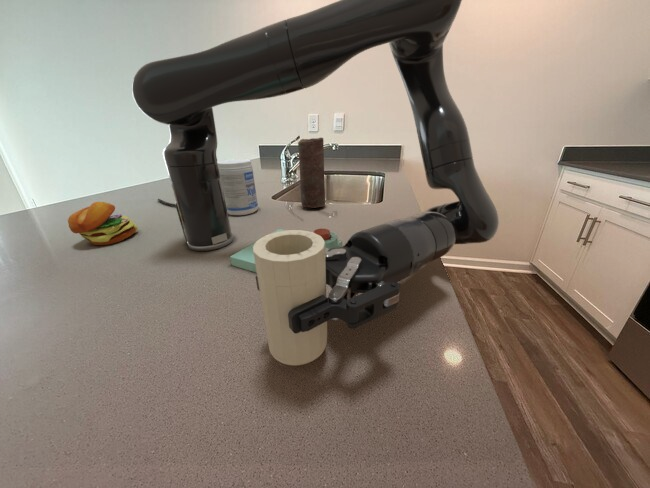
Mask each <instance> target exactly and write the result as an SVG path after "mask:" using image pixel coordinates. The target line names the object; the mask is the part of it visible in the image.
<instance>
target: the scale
mask: <svg viewBox="0 0 650 488" xmlns="http://www.w3.org/2000/svg"><path fill="white" fill-rule="evenodd" d="M287 230H288V229H281V228H278V229H277V230H275V231H273V232H271V233H270V234H272V233H275V232H279V231H287ZM312 232H313V233H314V231H312ZM256 242H257V241H255V242H253V243H251V244H250V245H248V246H246V247H244V248H243V249H241V250H239V251H237V252H236V253H233V254H232V255H230V256H229V259H230V264H231V266H232V267H236V268H239V269H242V270H246V271H249V272H252V273H256V274H257V271H256V265H255V259H254V252H253V246H254V244H255V243H256ZM325 247H326V248H328V249H331V248H339V247H343V240H339V239H338V234H336V233H335V232H333V231H330V239H329V240H326V241H325Z"/></svg>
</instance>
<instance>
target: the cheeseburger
mask: <svg viewBox="0 0 650 488" xmlns="http://www.w3.org/2000/svg"><path fill="white" fill-rule="evenodd" d="M115 211H116V206H115V205H114V204H113V203H112V204H111V203H109V202H105V201H95V202H92V203H91V204H90V205H89V206H86V207H84V208H81V209H79V210H77V211H75V212H73V213H71V214H70V215H69V216H68V218H67V223H68V228H69V231H71V232H72V233H73V234H79V235H80V237H82V238H83V239H84V240H87V241H88V242H89V243H90V244H91V245H95V246H107V245H112V244H117V243H119V242H122V241H123V240H125V239H127V238H129V237H131V236H132V235H134V234H135V233H137V232H138V230H139V227H138V226H137V224H136V223H134V221H133V220H132V219H130V218H129V216H127V215H122V213H120V214H114V212H115Z"/></svg>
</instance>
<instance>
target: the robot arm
mask: <svg viewBox="0 0 650 488" xmlns="http://www.w3.org/2000/svg"><path fill="white" fill-rule="evenodd" d="M462 1H463V0H337V1H335V2H332V3H330V4H329V3H328V4H327V5H324V6H321V7H319V8H316V9H314V10H310V11H308V12H305V13H303V14H299V15H295V16H291V17H288V18H285V19H283V20H280V21H277V22H274V23H272V24H269V25H268V24H267V25H266V26H263V27H261V28H258V29H257V30H254V31H251V32H249V33H246V34H243V35H240V36H238V37H235V38H232V39H230V40H227V41H225V42H222V43H220V44H218V45H215V46H212V47H210V48H208V49H206V50H202V51H198V52H194V53H190V54H185V55H180V56H175V57H170V58H165V59H160V60H159V59H158V60H154V61H150V62H148V63H146V64H144V65H142V66H141V67H140V68H139V69H138V70H137V71H136V73H135V74H134V77H133V81H132V83H131V85H132V86H131V91H132V98H133V100H134V102H135V104H136V106H137V107H138V108H139V110H141V112H142V113H143V114H144V115H145V116H147V117H148V118H150V119H151V120H153V121H155V122H157V123H160V124H163V125H166V126H168V129H169V134H170V137H169V142H168V143H167V145H166V146H165V147H164V149H163V151H162V156H163V161H164V165H165V167H166V170H167V174H168V178H169V181H170V183H171V188H172V191H173V195H174V199H175V203H170V202H167V201H164V200H163V199H160V198H157V202H160V203H161V204H164V205H167V206H171V207H175V208H176V213H177V216H178V219H179V223H180V226H181V230H182V233H183V238H184V240H185V243H186V245H187V247H188V249H189V250H191V251H195V252H210V251H214V250H219V249H222V248H225V247H226V246H229V245H230V244H231V243H233V241H234V235H233V233H232V229H231V223H230V219H229V214H228V212H227V207H226V202H225V197H224V192H223V187H222V182H221V177H220V172H219V167H218V162H219V161H218V157H217V151H218V150H217V149H218V136H217V128H216V121H215V116H214V110H213V108H214V107H217V106H220V105H224V104H229V103H233V102H244V101H245V102H246V101H255V100H257V101H258V100H264V99H265V100H266V99H271V98H275V97H276V98H277V97H280V96H285V95H289V94H292V93H296V92H299V91H302V90H305V89H308V88H310V87H314V86H315V85H317V84H319V83H321V82H323V81H324V80H326V79H327V78H328V77H329V76H331V75H332V74H334V73H335V72H336V71H337V70H339V69H340V68H341V67H342V66H344V65H345V64H347V62H349V61H350V60H352V59H353V58H355V57H356V56H357V55H360V54H361V53H363V52H365V51H367V50H368V51H369V50H370V49H372V48H376V47H379V46H383V45H385V44H388V47H389V49H390V53H391V54H392V57H393V61H394V62H395V65H396V68H397V70H398V72H399V75H400V77H401V80H402V82H403V85H404V88H405V91H406V95H407V97H408V100H409V104H410V108H411V111H412V116H413V119H414V120H413V121H414V124H415V125H414V126H415V128H416V134H417V140H418V143H419V148H420V149H419V150H420V155H421V159H422V164H423V169H424V174H425V179H426V183H427V185H428V187H429V188H430V189H432V190H450V191H451V192H453V193H454V195H455V197H456V198H457V199H458V200H457V201H451V202H447V203H441V204H438V205H435V206H432V207H429V208H426V209H425V210H424V211H422V212H421V213H417V214H415V215H414V214H413V215H411V216H408V217H405V218H400V219H394V220H390V221H387V222H384V223H381V224H378V225H376V226H375V225H374V226H372V227H370V228H366V229H363V230H360V231H357V232H355V233H353V234H352V235H351V236H350V238H349V239H348V240H347V242H346V243H345V244H344V245H342V247H339V248H331V249H328V248H326V247H325V262H326V286H327V285H328V286H329V287H330V289H331V290H330V292H329V293H328V297H327V296H326V297H325V296H324V295H321V296H319V297H317V298H315V299H313V300H310V301H308V302H306V303H304V304H302V305H300V306H297V307H295V308H293V309H291V310H290V311H289V313H288V320H289V328H290V329H291V330H292V331H293V332H294V333H299V332H301V331H302V332H306V331H309V330H311V329H313V328H315V327H317V326H319V325H321V324H322V323H324V322H326V321H327V322H328V321H330V320H332V321H339V320H341V321H344V322H345V326H346V327H347V328H349V329H357V328H359V327H361V326H363V325H366V324H367V323H369V322H372V321H374V320H376V319H378V318H381V316H384V315H387V314H388V313H390V312H392V311H394V310H397V309H398V307H399V300H400V290H401V284H399V282H401V281H404V280H405V279H406V278H409V277H410V276H412V275H414V274H416V273H418V272H419V271H421V270H422V269H423V268H425V267H426V266H427V265H429V264H431V263H433V262H435V261H436V260H439V259H440V258H443V257H445V255H447V254H448V253H449V252H450V251H451V250H452V249H453V247H454V246H455V245H471V244H484V243H487V242H489V241H491V240H492V239H493V238H494V237H495V235H496V234H497V232H498V229H499V225H500V218H499V213H498V210H497V208H496V206H495V204H494V202H493V200H492V198H491V196H490V195H489V193H488V191H487V190H486V187H485V185H484V184H483V182H482V179H481V177H480V175H479V173H478V171H477V169H476V166H475V161H474V156H473V150H472V146H471V140H470V135H469V131H468V127H467V123H466V121H465V118H464V117H463V113H462V112H461V110H460V108H459V107H458V105H457V103H456V102H455V99H454V98H453V96H452V94H451V92H450V89H449V86H448V84H447V80H446V74H445V68H444V42H445V41H446V38H447V36H448V34H449V32H450V30H451V28H452V26H453V24H454V22H455V20H456V18H457V16H458V12H459V10H460V7H461V6H462ZM255 283H256V288H257V290H258V291H259V292H260V290H259V283H258V277H257V275H256V276H255Z"/></svg>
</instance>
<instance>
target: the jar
mask: <svg viewBox="0 0 650 488" xmlns="http://www.w3.org/2000/svg"><path fill="white" fill-rule="evenodd" d="M286 230H287V231H279V232H275V231H274V232H275V233H273V232H271V233H272V234H271V233H269V234H266V235H264V236H262V237H261V238H259V239H257V241H255V242H256V243H255V242H254V243H255V244H254V246H253V252H254V259H255V265H256V271H257V273H256V276H257V277H258V283H259V290H260V291H259V290H258V291H259V295H260V302H261V309H262V314H263V319H264V326H265V332H266V333H265V334H266V339H267V344H268V349H269V353H270V355H272V357H273V358H274V359H275V360H276V361H277V362H279V363H281V364H283V365H287V366H303V365H306V364H309V363H311V362H314V361H315V360H317V359H318V358H319V357H320V356H321V355H322V354H323V352H324V351H325V350H326V348H327V344H328V321H326V322H324V323H322V324H321V325H319V326H317V327H315V328H313V329H311V330H309V331H306V332H302V331H301V332H299V333H294V332H293V331H292V330H291V329H290V328H289V320H288V313H289V311H290V310H291V309H293V308H295V307H297V306H300V305H302V304H304V303H306V302H308V301H310V300H313V299H315V298H317V297H319V296H321V295H324V296H325V297H327V284H326V262H325V241H324V240H323V238H322V237H321V236H320V235H317V234H315V233H313V232H314V231H308V230H304V229H303V230H302V229H301V230H300V229H289V230H288V229H286Z"/></svg>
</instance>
